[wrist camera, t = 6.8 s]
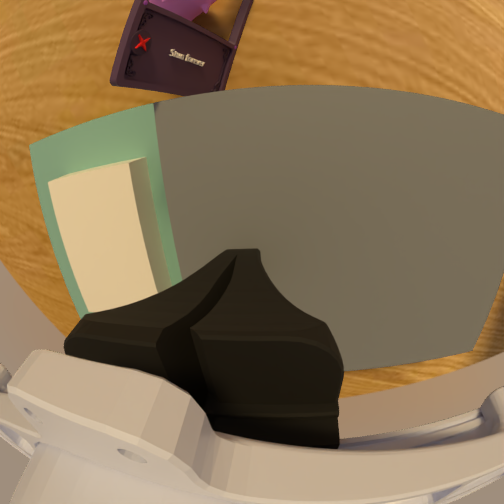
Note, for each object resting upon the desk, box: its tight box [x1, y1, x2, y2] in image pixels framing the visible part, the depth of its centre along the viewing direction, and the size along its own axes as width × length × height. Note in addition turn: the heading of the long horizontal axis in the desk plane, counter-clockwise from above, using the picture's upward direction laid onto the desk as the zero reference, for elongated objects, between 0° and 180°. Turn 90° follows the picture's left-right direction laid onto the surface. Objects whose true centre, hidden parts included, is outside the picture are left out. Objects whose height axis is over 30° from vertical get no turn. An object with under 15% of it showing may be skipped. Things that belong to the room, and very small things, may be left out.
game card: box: [110, 0, 253, 96], centre depth 8 cm, size 7×5×9 cm
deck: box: [153, 85, 504, 371], centre depth 13 cm, size 17×14×4 cm
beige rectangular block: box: [48, 157, 172, 312], centre depth 15 cm, size 6×9×2 cm, turn 4°
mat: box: [29, 103, 182, 319], centre depth 17 cm, size 11×15×1 cm
